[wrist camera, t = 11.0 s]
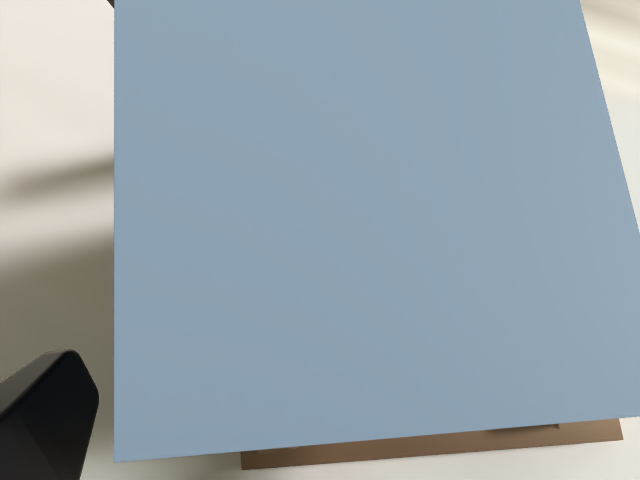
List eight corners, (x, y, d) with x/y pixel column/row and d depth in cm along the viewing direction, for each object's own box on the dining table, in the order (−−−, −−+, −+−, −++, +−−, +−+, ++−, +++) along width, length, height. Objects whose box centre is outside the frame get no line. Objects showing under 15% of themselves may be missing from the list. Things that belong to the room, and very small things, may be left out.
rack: (611, 436, 15) (846, 499, 7) (252, 465, 17) (66, 546, 8) (532, 74, 18) (623, -206, 10) (233, 127, 20) (81, -75, 11)
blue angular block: (491, 394, 15) (685, 413, 4) (343, 408, 16) (113, 462, 4) (450, 152, 17) (493, -334, 6) (319, 173, 18) (114, -225, 6)
